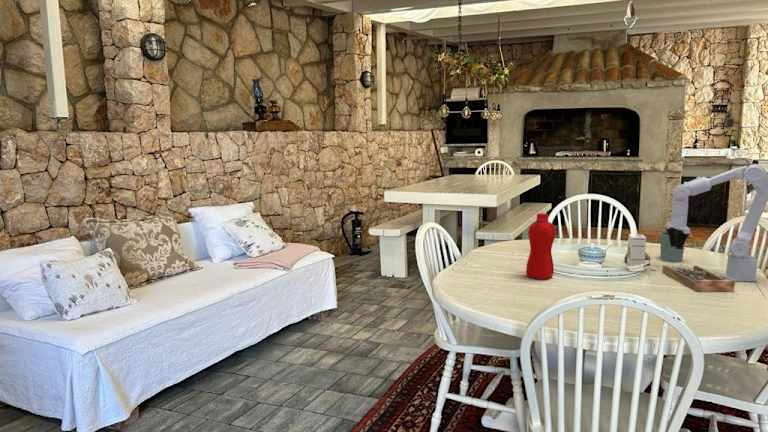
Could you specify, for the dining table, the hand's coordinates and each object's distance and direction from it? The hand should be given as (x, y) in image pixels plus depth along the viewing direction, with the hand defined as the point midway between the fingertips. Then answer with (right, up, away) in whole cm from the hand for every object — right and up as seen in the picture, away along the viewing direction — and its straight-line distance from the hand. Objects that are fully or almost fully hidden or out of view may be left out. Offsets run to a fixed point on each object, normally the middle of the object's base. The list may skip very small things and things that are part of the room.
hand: (676, 247), depth 229 cm
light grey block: (-10, -8, +14) cm, 19 cm away
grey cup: (+7, -7, +18) cm, 21 cm away
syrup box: (-16, -9, +2) cm, 19 cm away
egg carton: (0, -12, -10) cm, 16 cm away
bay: (0, -12, -14) cm, 19 cm away
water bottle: (-57, -11, -8) cm, 59 cm away
